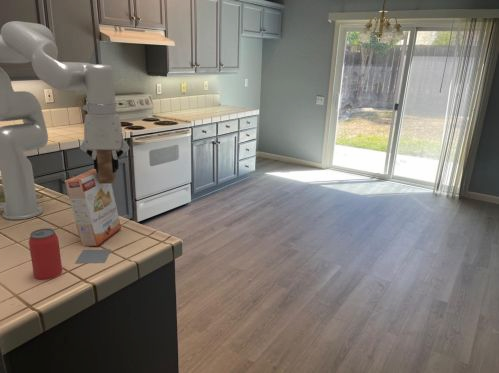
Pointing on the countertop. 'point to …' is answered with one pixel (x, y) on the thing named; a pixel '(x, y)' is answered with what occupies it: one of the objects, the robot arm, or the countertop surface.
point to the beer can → (45, 254)
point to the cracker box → (93, 208)
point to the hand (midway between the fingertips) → (106, 170)
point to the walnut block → (105, 167)
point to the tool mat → (93, 256)
